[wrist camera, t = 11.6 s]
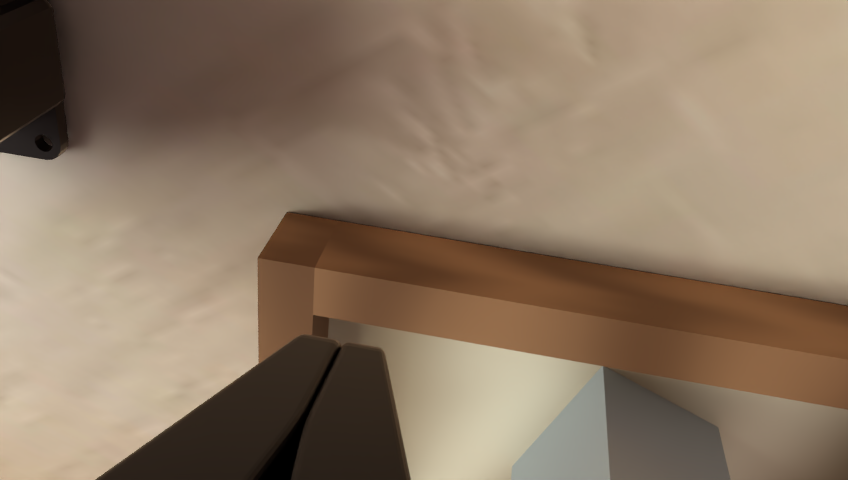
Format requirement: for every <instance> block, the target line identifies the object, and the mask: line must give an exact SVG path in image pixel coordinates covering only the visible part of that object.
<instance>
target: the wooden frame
mask: <svg viewBox="0 0 848 480" xmlns="http://www.w3.org/2000/svg"><path fill="white" fill-rule="evenodd" d="M302 334H308V335H314V336H319V337H325V338H330V339H335V340H338V341H339V342H340V344H341V346H342V345H343V344H345V343H347V342H353V343H358V344H364V345H369V346H375V347H379V348H381V349H382V350H383V351H384V353H385V356H386V361H387V365H388V370H389V375H390V380H391V385H392V390H393V395H394V400H395V404H396V409H397V414H398V419H399V424H400V429H401V434H402V439H403V443H404V448H405V453H406V458H407V463H408V468H409V473H410V478H411V480H511V474H512V466H513V465H514V464H515V463H516V461H517V460H518V459H519V458H520V457H521V456H522V455H523V454H524V453H525V451H526V450H527V449H528V448H529V447H530V446H531V445H532V444H533V443H534V441H535V440H536V439H537V438H538V437H539V436H540V435H541V434H542V433H543V431H544V430H545V429H546V428H547V427H548V426H549V425H550V424H551V423H552V421H553V420H554V419H555V418H556V417H557V416H558V415H559V414H560V413H561V411H562V410H563V409H564V408H565V407H566V406H567V405H568V404H569V402H570V401H571V400H572V399H573V398H574V397H575V396H576V395H577V394H578V392H579V391H580V390H581V389H582V388H583V387H584V386H585V385H586V384H587V382H588V381H589V380H590V379H591V378H592V377H593V376H594V375H595V374H596V372H597V371H598V370H599V369H600V368H601V367H602V366H604V367H607V368H609V369H611V370H613V371H614V372H616V373H618V374H620V375H622V376H624V377H626V378H627V379H629V380H631V381H633V382H635V383H637V384H639V385H640V386H642V387H644V388H646V389H648V390H650V391H652V392H654V393H655V394H657V395H659V396H661V397H663V398H665V399H667V400H668V401H670V402H672V403H674V404H676V405H678V406H680V407H681V408H683V409H685V410H687V411H689V412H691V413H693V414H694V415H696V416H698V417H700V418H702V419H704V420H706V421H707V422H709V423H711V424H713V425H715V426H717V427H718V428H719V433H720V437H721V441H722V445H723V450H724V454H725V458H726V462H727V467H728V471H729V475H730V480H848V306H845V305H839V304H833V303H827V302H821V301H815V300H809V299H803V298H797V297H791V296H785V295H779V294H773V293H767V292H761V291H755V290H749V289H743V288H737V287H731V286H725V285H719V284H713V283H708V282H702V281H696V280H690V279H684V278H678V277H672V276H666V275H660V274H654V273H648V272H642V271H636V270H630V269H624V268H618V267H612V266H606V265H600V264H594V263H588V262H582V261H576V260H570V259H564V258H558V257H552V256H546V255H540V254H534V253H528V252H522V251H516V250H510V249H504V248H498V247H492V246H486V245H480V244H474V243H468V242H462V241H457V240H451V239H445V238H439V237H433V236H427V235H421V234H415V233H409V232H403V231H397V230H391V229H385V228H379V227H373V226H367V225H361V224H355V223H349V222H343V221H337V220H331V219H325V218H319V217H313V216H307V215H301V214H295V213H289V212H287V213H286V214H285V216H284V218H283V219H282V221H281V222H280V224H279V225H278V227H277V229H276V230H275V232H274V233H273V235H272V236H271V238H270V240H269V241H268V243H267V244H266V246H265V247H264V249H263V251H262V252H261V254H260V255H259V257H258V340H259V363H260V362H262V361H263V360H265V359H266V358H267V357H269V356H270V355H272V354H273V353H274V352H276V351H277V350H279V349H280V348H282V347H283V346H284V345H286V344H287V343H289V342H290V341H291V340H293V339H294V338H296V337H297V336H300V335H302Z"/></svg>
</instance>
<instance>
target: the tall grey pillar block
mask: <svg viewBox="0 0 848 480" xmlns="http://www.w3.org/2000/svg"><path fill="white" fill-rule="evenodd" d="M511 480H730V475H729V471H728V467H727V462H726V458H725V454H724V450H723V445H722V441H721V437H720V433H719V428H718V427H717V426H715V425H713V424H711V423H709V422H707V421H706V420H704V419H702V418H700V417H698V416H696V415H694V414H693V413H691V412H689V411H687V410H685V409H683V408H681V407H680V406H678V405H676V404H674V403H672V402H670V401H668V400H667V399H665V398H663V397H661V396H659V395H657V394H655V393H654V392H652V391H650V390H648V389H646V388H644V387H642V386H640V385H639V384H637V383H635V382H633V381H631V380H629V379H627V378H626V377H624V376H622V375H620V374H618V373H616V372H614V371H613V370H611V369H609V368H607V367H604V366H602V367H601V368H600V369H599V370H598V371H597V372H596V374H595V375H594V376H593V377H592V378H591V379H590V380H589V381H588V382H587V384H586V385H585V386H584V387H583V388H582V389H581V390H580V391H579V392H578V394H577V395H576V396H575V397H574V398H573V399H572V400H571V401H570V402H569V404H568V405H567V406H566V407H565V408H564V409H563V410H562V411H561V413H560V414H559V415H558V416H557V417H556V418H555V419H554V420H553V421H552V423H551V424H550V425H549V426H548V427H547V428H546V429H545V430H544V431H543V433H542V434H541V435H540V436H539V437H538V438H537V439H536V440H535V441H534V443H533V444H532V445H531V446H530V447H529V448H528V449H527V450H526V451H525V453H524V454H523V455H522V456H521V457H520V458H519V459H518V460H517V461H516V463H515V464H514V465H513V466H512V474H511Z"/></svg>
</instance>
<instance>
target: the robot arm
mask: <svg viewBox="0 0 848 480" xmlns="http://www.w3.org/2000/svg"><path fill="white" fill-rule="evenodd" d="M64 98H65V90H64V83H63V76H62V69H61V62H60V55H59V48H58V41H57V34H56V27H55V19H54V12H53V8H52V7H51V5H50V4H49V1H48V0H0V152H3V153H9V154H15V155H21V156H27V157H33V158H39V159H45V160H52V159H54V158H56V157H58V156H59V155H61V154H62V153H63V152H65V151H66V149H67V147H68V134H67V127H66V120H65V113H64V106H63V99H64ZM43 135H44V136H47V137H48V138H49V139H50V140H51V142H52V146H51V145H49V144H48V143H47V142H46V141H45V140H44V138H43ZM96 480H411V478H410V473H409V468H408V463H407V458H406V453H405V448H404V443H403V439H402V434H401V429H400V424H399V419H398V414H397V409H396V404H395V400H394V395H393V390H392V385H391V380H390V375H389V370H388V365H387V361H386V356H385V353H384V351H383V350H382V349H381V348H379V347H375V346H369V345H364V344H358V343H353V342H347V343H345V344H343V345H342V346H341V344H340V342H339V341H338V340H335V339H330V338H325V337H319V336H314V335H308V334H302V335H300V336H297V337H296V338H294V339H293V340H291V341H290V342H289V343H287V344H286V345H284V346H283V347H282V348H280V349H279V350H277V351H276V352H274V353H273V354H272V355H270V356H269V357H267V358H266V359H265V360H263V361H262V362H260V363H259V364H258V365H256V366H255V367H253V368H252V369H251V370H249V371H248V372H246V373H245V374H244V375H242V376H241V377H239V378H238V379H236V380H235V381H234V382H232V383H231V384H229V385H228V386H227V387H225V388H224V389H222V390H221V391H220V392H218V393H217V394H215V395H214V396H213V397H211V398H210V399H208V400H207V401H205V402H204V403H203V404H201V405H200V406H198V407H197V408H196V409H194V410H193V411H191V412H190V413H189V414H187V415H186V416H184V417H183V418H182V419H180V420H179V421H177V422H176V423H174V424H173V425H172V426H170V427H169V428H167V429H166V430H165V431H163V432H162V433H160V434H159V435H158V436H156V437H155V438H153V439H152V440H151V441H149V442H148V443H146V444H145V445H144V446H142V447H141V448H139V449H138V450H136V451H135V452H134V453H132V454H131V455H129V456H128V457H127V458H125V459H124V460H122V461H121V462H120V463H118V464H117V465H115V466H114V467H113V468H111V469H110V470H108V471H107V472H105V473H104V474H103V475H101V476H100V477H98V478H97V479H96Z"/></svg>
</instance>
